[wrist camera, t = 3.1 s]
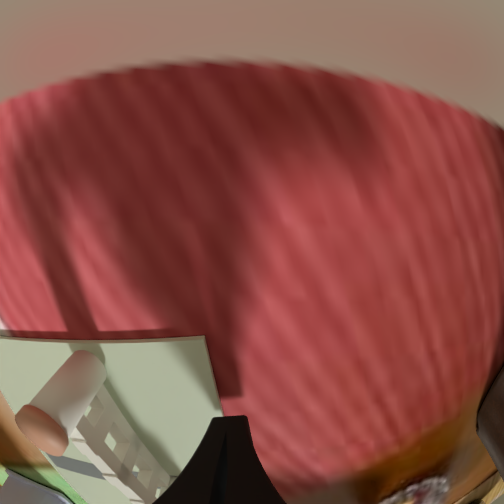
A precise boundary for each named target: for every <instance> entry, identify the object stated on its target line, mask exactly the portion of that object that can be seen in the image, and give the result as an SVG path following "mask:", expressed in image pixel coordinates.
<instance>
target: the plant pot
mask: <svg viewBox="0 0 504 504" xmlns="http://www.w3.org/2000/svg"><path fill="white" fill-rule="evenodd" d="M477 420H478V428H477V430H476V432H477V434H478V436H479V438H480V439H481V441H482V442H483V444H484V446H485V447H486V449H487V451H488V453H489V454H490V456H491V458H492V460H493V462H494V464H495V465H496V467H497V469H498V471H499V473H500V475H501V477H502V479H503V481H504V366H503V368H502V369H501V371H500V373H499V374H498V376H497V378H496V379H495V381H494V383H493V385H492V387H491V388H490V390H489V393H488V394H487V396H486V398H485V400H484V402H483V404H482V407H481V409H480V411H479V414H478V417H477Z"/></svg>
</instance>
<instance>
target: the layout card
mask: <svg viewBox="0 0 504 504" xmlns="http://www.w3.org/2000/svg"><path fill="white" fill-rule="evenodd" d="M77 350H86V351H88V352H90V353H92V354H94V355H95V356H96V357H97V358H98V359H99V360H100V361H101V362H102V363H103V365H104V367H105V369H106V374H107V376H106V380H105V381H104V383H103V384H104V386H105V388H106V389H107V391H108V393H109V394H110V396H111V397H112V399H113V401H114V402H115V404H116V405H117V407H118V408H119V410H120V411H121V413H122V414H123V416H124V417H125V419H126V420H127V422H128V423H129V425H130V426H131V428H132V429H133V430H134V432H135V433H136V434H137V436H138V437H139V439H140V440H141V441H142V443H143V444H144V445H145V446H146V448H147V449H148V450H149V452H150V453H151V454H152V455H153V457H154V458H155V459H156V460H157V462H158V463H159V464H160V465H161V466H162V468H163V469H164V470H165V471H166V472H167V473H168V474H169V476H170V477H178V476H179V474H180V473H181V472H182V470H183V469H184V468H185V466H186V465H187V463H188V462H189V460H190V459H191V457H192V456H193V454H194V452H195V451H196V449H197V447H198V446H199V444H200V442H201V440H202V438H203V437H204V435H205V433H206V431H207V428H208V426H209V424H210V422H211V419H212V418H213V417H224V413H223V409H222V405H221V401H220V398H219V394H218V390H217V386H216V382H215V378H214V374H213V369H212V365H211V361H210V357H209V352H208V348H207V344H206V339H205V335H203V336H190V337H175V338H157V339H131V340H59V339H35V338H18V337H5V336H0V390H1V392H2V394H3V395H4V397H5V399H6V401H7V402H8V404H9V406H10V407H11V409H12V410H13V412H14V414H15V415H16V414H17V412H18V411H19V410H20V409H21V408H22V406H23V405H26V404H29V403H30V402H31V400H32V399H33V398H34V397H35V396H36V394H37V393H38V392H39V391H40V390H41V389H42V387H43V386H44V385H45V384H46V383H47V382H48V381H49V379H50V378H51V377H52V376H53V375H54V374H55V373H56V371H57V370H58V369H59V368H60V367H61V366H62V365H63V364H64V363H65V361H66V360H67V359H68V358H69V357H70V356H71V355H72V354H73V353H74V352H75V351H77ZM90 410H91V407H90V406H88V408H87V409H86V411H85V413H84V415H85V417H86V416H87V415H88V413H89V411H90ZM104 442H105V443H106V444H107V445H108V447H109V448H110V449H111V450H112V452H113V450H114V447H115V445H116V441H115V440H114V439H113V438H112V436H111V435H110V434H109V432H108V434H107V437H106V439H105V441H104ZM39 450H40V451H41V452H42V453H43V455H44V456H45V457H46V459H47V460H48V461H49V462H50V463H51V465H52V466H53V467H54V468H55V469H56V471H57V472H58V473H59V474H60V475H61V476H62V477H63V478H64V480H65V481H66V482H67V483H68V484H69V485H70V486H71V487H72V488H73V489H74V490H75V491H76V492H77V493H78V494H79V495H80V496H81V497H82V498H83V499H84V500H85V501H86V502H87V503H88V504H132V503H131V502H130V499H129V498H128V497H126V496H125V495H124V494H123V493H122V492H121V491H120V490H119V489H118V488H117V487H116V486H113V485H111V484H110V483H109V482H108V481H107V480H106V479H105V478H104V477H103V474H102V473H101V471H100V470H99V469H98V468H97V467H96V466H95V465H94V464H93V463H92V462H91V461H90V460H89V459H88V457H87V456H86V455H83V454H82V453H81V452H80V451H79V450H78V449H77V447H76V446H75V445H74V444H73V443H72V439H71V437H69V445H68V446H67V448H66V450H65V452H64V453H63V455H62V456H53V455H50V454H48V453H46V452H44V451H42V450H41V449H39ZM138 473H139V469H138V468H137V467H136V465H135V464H134V467H133V470H132V474H133V475H134V476H135V477H136V478H137V476H138ZM160 489H161V487H157V491H156V495H155V497H156V498H157V499H158V498H159V494H160Z"/></svg>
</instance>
